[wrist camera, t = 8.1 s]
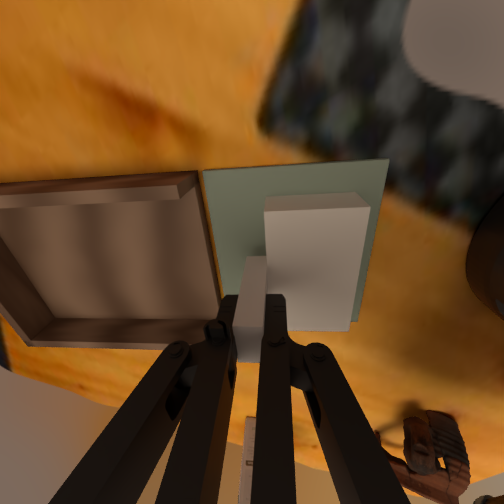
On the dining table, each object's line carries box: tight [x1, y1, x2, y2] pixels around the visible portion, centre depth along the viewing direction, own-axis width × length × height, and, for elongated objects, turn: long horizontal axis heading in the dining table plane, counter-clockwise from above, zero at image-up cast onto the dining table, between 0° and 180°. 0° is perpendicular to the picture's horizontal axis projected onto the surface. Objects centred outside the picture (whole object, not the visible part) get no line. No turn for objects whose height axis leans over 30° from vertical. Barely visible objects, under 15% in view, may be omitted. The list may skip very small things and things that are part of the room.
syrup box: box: [238, 417, 256, 504], centre depth 28 cm, size 6×6×14 cm
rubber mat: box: [202, 158, 390, 322], centre depth 19 cm, size 12×14×1 cm
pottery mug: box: [375, 410, 471, 504], centre depth 28 cm, size 12×9×8 cm
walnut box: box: [0, 170, 221, 350], centre depth 19 cm, size 18×14×4 cm
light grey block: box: [264, 192, 371, 332], centre depth 17 cm, size 6×10×3 cm, turn 5°
